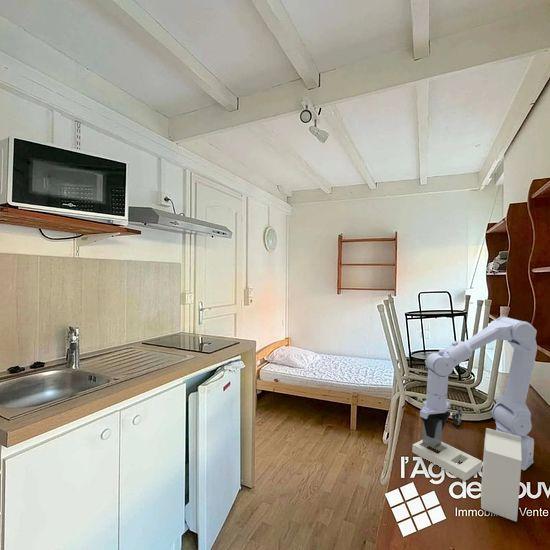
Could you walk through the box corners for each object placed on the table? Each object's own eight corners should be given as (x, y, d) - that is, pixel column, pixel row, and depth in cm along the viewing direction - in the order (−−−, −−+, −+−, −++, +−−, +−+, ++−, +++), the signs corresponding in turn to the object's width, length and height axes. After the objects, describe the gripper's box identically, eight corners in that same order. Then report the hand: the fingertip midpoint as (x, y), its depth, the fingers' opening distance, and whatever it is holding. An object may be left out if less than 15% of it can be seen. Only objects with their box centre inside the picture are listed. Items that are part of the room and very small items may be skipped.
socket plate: (481, 469, 96) (481, 460, 96) (465, 481, 90) (465, 472, 90) (429, 443, 109) (429, 435, 109) (412, 452, 103) (412, 444, 103)
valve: (423, 417, 127) (457, 429, 119) (424, 401, 127) (458, 411, 119) (428, 412, 132) (461, 423, 124) (429, 396, 132) (462, 406, 123)
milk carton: (516, 522, 76) (523, 444, 75) (481, 509, 80) (486, 434, 79) (513, 504, 82) (519, 430, 81) (480, 492, 86) (485, 422, 85)
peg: (441, 444, 102) (442, 419, 102) (434, 448, 100) (435, 423, 100) (429, 438, 106) (430, 414, 105) (422, 442, 103) (423, 417, 103)
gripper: (436, 383, 109) (433, 423, 110) (411, 392, 101) (409, 435, 101) (458, 391, 103) (455, 432, 104) (434, 401, 95) (431, 446, 96)
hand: (434, 434), depth 102 cm, fingers closed on peg, 4 cm apart
